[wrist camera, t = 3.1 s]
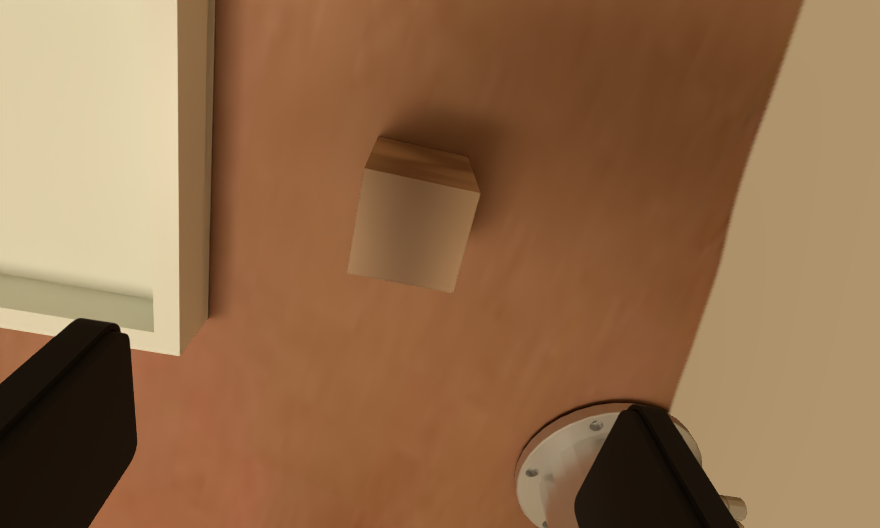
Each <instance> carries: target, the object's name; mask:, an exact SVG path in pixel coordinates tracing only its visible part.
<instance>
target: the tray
mask: <svg viewBox="0 0 880 528" xmlns="http://www.w3.org/2000/svg"><path fill="white" fill-rule="evenodd" d="M214 37H215V0H0V327H1V328H7V329H13V330H19V331H26V332H32V333H38V334H44V335H51V336H56V335H57V334H58V333H60V332H61V331H62V330H63V329H64V328H65V327H66V326H68V325H69V324H70V323H71V322H72V321H74V320H76V319H78V318H86V319H92V320H98V321H105V322H111V323H116V324H118V325H119V327H120V330H121V333H126V334H128V336H129V339H130V348H132V349H138V350H145V351H151V352H157V353H163V354H170V355H176V356H180V355H181V354H182V352H183V351H184V350H185V348H186V347H187V346H188V344H189V343H190V342H191V340H192V339H193V338H194V337H195V335H196V334H197V333H198V331H199V330H200V329H201V327H202V326H203V325H204V323H205V322H206V321H207V319H208V296H209V252H210V209H211V166H212V123H213V80H214Z"/></svg>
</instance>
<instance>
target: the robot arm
mask: <svg viewBox="0 0 880 528" xmlns="http://www.w3.org/2000/svg"><path fill="white" fill-rule="evenodd" d="M136 447H137V432H136V418H135V405H134V391H133V377H132V363H131V349H130V339H129V336H128V334H126V333H121V330H120V327H119V325H118V324H116V323H111V322H105V321H98V320H92V319H86V318H78V319H76V320H74V321H72V322H71V323H70V324H69V325H68V326H66V327H65V328H64V329H63V330H62V331H61V332H60V333H58V334H57V335H56V336H55V337H54V338H53V339H51V340H50V341H49V342H48V343H47V344H46V345H45V346H43V347H42V348H41V349H40V350H39V351H38V352H36V353H35V354H34V355H33V356H32V357H31V358H30V359H28V360H27V361H26V362H25V363H24V364H23V365H21V366H20V367H19V368H18V369H17V370H16V371H15V372H13V373H12V374H11V375H10V376H9V377H8V378H7V379H5V380H4V381H3V382H2V383H1V384H0V528H88V527H89V526H90V524H91V522H92V521H93V519H94V518H95V516H96V515H97V513H98V512H99V510H100V509H101V507H102V506H103V504H104V503H105V501H106V499H107V498H108V496H109V495H110V493H111V492H112V490H113V489H114V487H115V486H116V484H117V483H118V481H119V480H120V478H121V476H122V475H123V473H124V472H125V470H126V469H127V467H128V466H129V464H130V462H131V461H132V459H133V456H134V454H135V451H136ZM514 477H515V489H516V493H517V498H518V502H519V505H520V507H521V509H522V511H523V513H524V514H525V515H526V516H527V517H528V519H529V520H530V521H531V522H532V523H533V524H535V525H536V526H537V527H539V528H744V526H743V525H742V524H741V523H740V522H739V521H736V520H741V521H742V520H743V519H745V517H746V515H747V509H746V505H745V503H744V501H743V500H742V499H740V498H737V497H730V496H723V495H719V494H718V493H717V491H716V489H715V488H714V486H713V485H712V483H711V481H710V480H709V478H708V477H707V475H706V474H705V472H704V470H703V469H702V461H701V454H700V451H699V449H698V446H697V443H696V442H695V440H694V439H693V437H692V436H691V434H690V433H689V431H688V430H687V428H685V426H684V425H683V424H682V423H680V422H679V421H678V420H677V419H676V418H674V417H673V416H671V415H669V414H668V413H667V412H666V411H665V410H664V409H662V408H658V407H652V406H646V405H640V404H634V403H610V404H603V405H595V406H591V407H588V408H584V409H581V410H577V411H575V412H572V413H570V414H568V415H566V416H563V417H561V418H559V419H558V420H556V421H554V422H553V423H551V424H550V425H548V426H547V427H545V428H544V429H543V430H542V431H540V432H539V433H538V434H537V435H536V436H535V437H534V438H533V439H532V440H531V441H530V442H529V444H528V445H527V446H526V448H525V449H524V450H523V452H522V454H521V456H520V458H519V460H518V462H517V466H516V470H515V475H514Z"/></svg>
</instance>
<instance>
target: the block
mask: <svg viewBox="0 0 880 528" xmlns="http://www.w3.org/2000/svg"><path fill="white" fill-rule="evenodd" d="M479 197H480V190H479V187H478V184H477V181H476V178H475V176H474V173H473V170H472V167H471V164H470V161H469V158H468V156H463V155H459V154H454V153H450V152H445V151H441V150H436V149H432V148H427V147H423V146H419V145H414V144H410V143H405V142H401V141H396V140H392V139H387V138H383V137H379V136H378V138H377V141H376V143H375V145H374V147H373V150H372V152H371V154H370V156H369V159H368V161H367V163H366V165H365V167H364V172H363V179H362V185H361V191H360V197H359V203H358V209H357V215H356V222H355V228H354V234H353V240H352V246H351V252H350V258H349V264H348V271H347V273H349V274H354V275H359V276H365V277H370V278H375V279H381V280H386V281H391V282H397V283H402V284H407V285H413V286H418V287H423V288H429V289H434V290H439V291H445V292H450V293H453V291H454V288H455V284H456V280H457V277H458V273H459V269H460V266H461V262H462V259H463V255H464V251H465V248H466V244H467V240H468V237H469V233H470V230H471V226H472V222H473V219H474V215H475V211H476V208H477V204H478V201H479Z"/></svg>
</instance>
